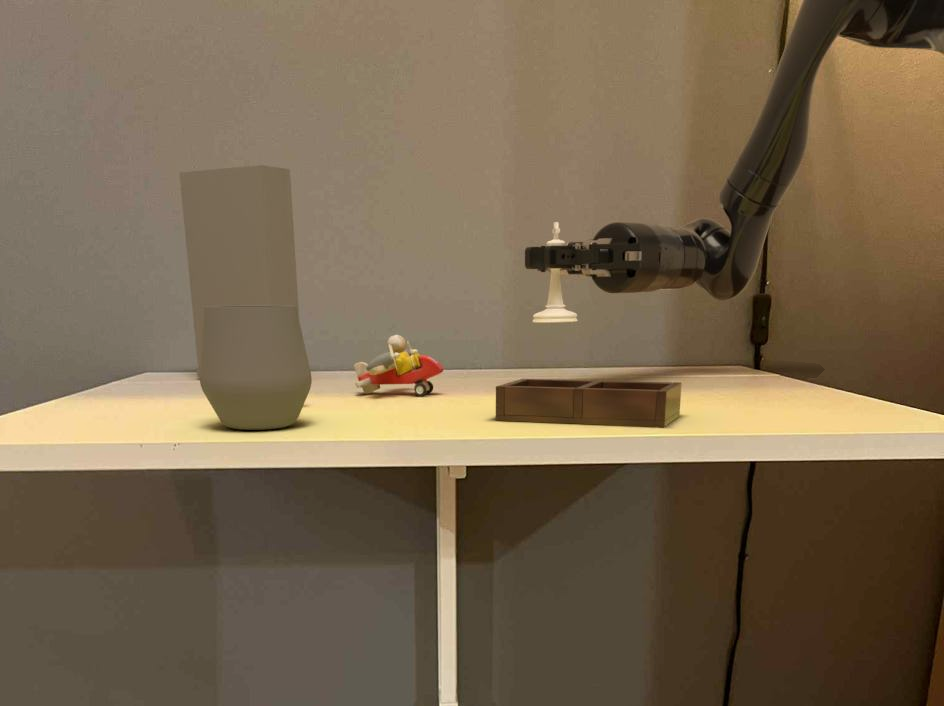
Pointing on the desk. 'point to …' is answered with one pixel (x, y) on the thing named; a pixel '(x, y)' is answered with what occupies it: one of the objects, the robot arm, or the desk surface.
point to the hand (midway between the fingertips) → (537, 257)
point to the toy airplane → (398, 368)
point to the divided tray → (589, 402)
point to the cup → (254, 365)
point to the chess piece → (555, 292)
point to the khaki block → (238, 239)
